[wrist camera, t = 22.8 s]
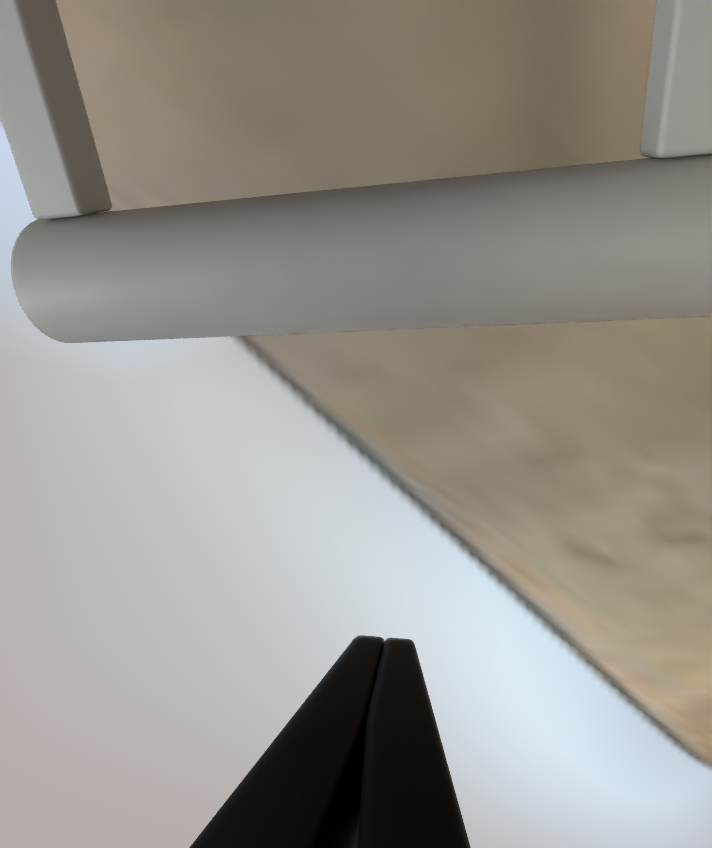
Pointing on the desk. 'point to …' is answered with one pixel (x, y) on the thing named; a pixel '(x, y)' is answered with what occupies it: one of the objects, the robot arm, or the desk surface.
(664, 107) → the drawer
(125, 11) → the desk surface
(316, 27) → the desk surface
